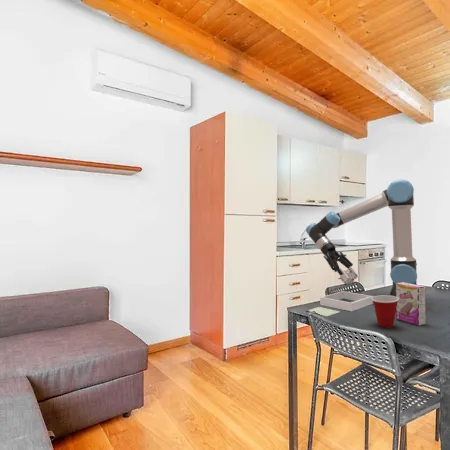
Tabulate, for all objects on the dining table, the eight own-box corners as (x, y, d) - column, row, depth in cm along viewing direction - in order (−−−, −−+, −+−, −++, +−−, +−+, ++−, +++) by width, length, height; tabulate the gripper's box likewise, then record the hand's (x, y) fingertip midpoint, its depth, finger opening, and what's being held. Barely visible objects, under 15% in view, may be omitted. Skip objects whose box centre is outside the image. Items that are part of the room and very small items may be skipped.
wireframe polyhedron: (351, 292, 181) (359, 278, 175) (335, 286, 183) (342, 272, 177) (352, 280, 188) (359, 267, 182) (336, 275, 190) (343, 262, 184)
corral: (373, 303, 183) (373, 296, 183) (351, 311, 169) (351, 303, 168) (342, 298, 196) (342, 291, 196) (320, 304, 182) (320, 297, 182)
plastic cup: (366, 322, 151) (366, 295, 151) (390, 321, 152) (389, 294, 152) (379, 330, 140) (379, 300, 140) (404, 329, 141) (404, 300, 141)
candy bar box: (395, 319, 155) (394, 283, 154) (402, 317, 157) (402, 281, 156) (418, 326, 145) (418, 287, 144) (426, 324, 147) (426, 286, 146)
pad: (339, 312, 167) (339, 311, 167) (326, 316, 160) (326, 315, 160) (318, 307, 176) (318, 306, 176) (305, 311, 169) (305, 310, 169)
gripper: (334, 249, 201) (359, 280, 188) (309, 252, 189) (335, 285, 176) (341, 240, 196) (368, 271, 183) (317, 242, 184) (343, 276, 171)
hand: (352, 278), depth 180 cm, fingers closed on wireframe polyhedron, 8 cm apart
